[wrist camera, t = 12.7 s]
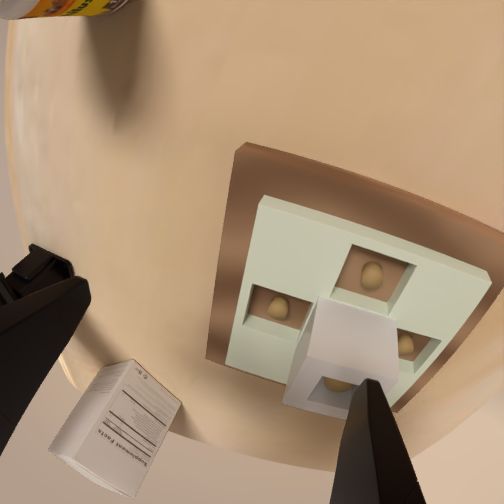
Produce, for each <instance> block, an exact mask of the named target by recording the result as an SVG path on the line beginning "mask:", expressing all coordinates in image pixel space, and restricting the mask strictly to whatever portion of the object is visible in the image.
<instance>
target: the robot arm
mask: <svg viewBox="0 0 504 504" xmlns="http://www.w3.org/2000/svg"><path fill="white" fill-rule="evenodd" d="M29 251H30V254H28V255H27V256H26V257H25V258H24V259H22V260H21V261H20V262H19V263H18V264H17V265H15V266H14V267H13V268H12V272H11V273H10V274H9V275H8V276H7V277H6V278H5V276H4V274H3V273H2V272H1V273H0V456H1V454H2V452H3V450H4V448H5V446H6V444H7V443H8V441H9V439H10V437H11V435H12V433H13V431H14V430H15V427H16V426H17V424H18V422H19V421H20V419H21V417H22V415H23V414H24V412H25V410H26V409H27V407H28V405H29V403H30V402H31V400H32V398H33V397H34V395H35V393H36V392H37V390H38V388H39V387H40V385H41V384H42V382H43V381H44V379H45V377H46V376H47V374H48V373H49V371H50V370H51V368H52V366H53V365H54V363H55V362H56V360H57V359H58V357H59V356H60V354H61V353H62V351H63V350H64V348H65V347H66V345H67V344H68V342H69V341H70V339H71V337H72V336H73V334H74V332H75V330H76V328H77V326H78V325H79V323H80V321H81V319H82V317H83V316H84V314H85V312H86V310H87V308H88V307H89V305H90V302H91V294H90V289H89V284H88V281H87V280H86V279H84V278H82V277H80V276H74V277H73V274H72V270H71V265H70V263H69V262H68V261H67V260H66V259H64V258H61V257H59V256H57V255H55V254H53V253H51V252H49V251H46V250H44V249H42V248H40V247H38V246H36V245H34V244H31V245H30V246H29ZM330 504H426V502H425V499H424V496H423V493H422V491H421V488H420V485H419V482H417V477H416V474H415V471H414V469H413V466H412V463H411V460H410V457H409V455H408V452H407V449H406V447H405V444H404V441H403V439H402V436H401V434H400V431H399V429H398V426H397V423H396V421H395V418H394V416H393V413H392V411H391V408H390V406H389V404H388V401H387V399H386V396H385V394H384V391H383V389H382V387H381V384H380V382H379V381H377V380H374V379H370V378H366V379H364V380H363V382H362V383H361V384H360V385H359V387H358V388H357V389H356V390H355V392H354V394H353V396H352V399H351V403H350V407H349V411H348V415H347V419H346V423H345V427H344V431H343V435H342V439H341V443H340V448H339V454H338V461H337V467H336V472H335V478H334V483H333V489H332V494H331V499H330Z"/></svg>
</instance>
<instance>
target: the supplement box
mask: <svg viewBox="0 0 504 504" xmlns="http://www.w3.org/2000/svg"><path fill="white" fill-rule="evenodd" d="M180 405H181V402H180V401H179V400H178V399H177V398H176V397H174V396H173V395H172V394H171V393H170V392H169V391H168V390H166V389H165V388H164V387H163V386H162V385H161V384H160V383H159V382H157V381H156V380H155V379H154V378H153V377H152V376H151V375H150V374H149V373H148V372H146V371H145V370H144V369H143V368H142V367H141V366H140V365H139V364H138V363H137V362H136V361H135V360H130V361H126V362H122V363H118V364H114V365H110V366H106V367H102V368H101V369H100V371H99V372H98V374H97V375H96V377H95V378H94V379H93V381H92V382H91V384H90V385H89V387H88V388H87V390H86V391H85V393H84V394H83V396H82V397H81V399H80V400H79V402H78V403H77V405H76V406H75V408H74V409H73V411H72V412H71V414H70V415H69V417H68V418H67V420H66V422H65V423H64V425H63V426H62V428H61V429H60V431H59V432H58V434H57V435H56V437H55V439H54V440H53V442H52V444H51V445H50V447H49V448H48V450H49V451H50V452H51V453H53V454H54V455H55V456H57V457H58V458H59V459H61V460H62V461H64V462H65V463H67V464H68V465H69V466H71V467H72V468H73V469H75V470H76V471H78V472H79V473H81V474H82V475H83V476H85V477H86V478H88V479H89V480H91V481H92V482H94V483H96V484H98V485H99V486H102V487H104V488H106V489H109V490H111V491H114V492H116V493H119V494H121V495H123V496H126V497H129V498H131V499H134V498H135V496H136V494H137V492H138V490H139V488H140V486H141V484H142V482H143V480H144V478H145V476H146V474H147V472H148V470H149V468H150V466H151V464H152V462H153V460H154V458H155V456H156V454H157V452H158V450H159V448H160V445H161V443H162V442H163V440H164V437H165V435H166V434H167V432H168V430H169V428H170V425H171V423H172V421H173V419H174V417H175V415H176V413H177V411H178V409H179V407H180Z"/></svg>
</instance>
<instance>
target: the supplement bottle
mask: <svg viewBox="0 0 504 504" xmlns="http://www.w3.org/2000/svg"><path fill="white" fill-rule="evenodd" d="M127 1H128V0H0V18H2V19H5V20H15V19H25V18H37V17H54V16H102V15H106V14H109V13H112V12H114V11H116V10H117V9H119V8H120V7H122V6H123V5H124V4H125V3H126V2H127Z"/></svg>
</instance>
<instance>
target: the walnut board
mask: <svg viewBox="0 0 504 504" xmlns="http://www.w3.org/2000/svg"><path fill="white" fill-rule="evenodd" d="M264 195H267V196H270V197H274V198H277V199H280V200H284V201H287V202H291V203H294V204H297V205H300V206H304V207H307V208H310V209H313V210H317V211H320V212H323V213H326V214H329V215H333V216H336V217H339V218H342V219H345V220H348V221H351V222H354V223H357V224H360V225H363V226H366V227H369V228H372V229H375V230H378V231H381V232H384V233H387V234H389V235H392V236H395V237H398V238H401V239H404V240H406V241H409V242H412V243H415V244H418V245H420V246H423V247H426V248H428V249H431V250H434V251H437V252H439V253H442V254H445V255H447V256H450V257H452V258H455V259H458V260H460V261H463V262H465V263H468V264H470V265H473V266H475V267H478V268H480V269H483V270H485V271H487V273H488V275H489V277H490V279H491V282H492V284H491V286H490V287H489V289H488V290H487V292H486V293H485V295H484V296H483V298H482V299H481V301H480V302H479V303H478V305H477V306H476V308H475V309H474V310H473V312H472V313H471V315H470V316H469V317H468V319H467V320H466V321H465V323H464V324H463V325H462V327H461V328H460V329H459V331H458V332H457V333H456V335H455V336H454V337H453V338H452V340H451V341H450V342H449V343H448V345H447V346H446V347H445V348H444V350H443V351H442V352H441V353H440V354H439V356H438V357H437V358H436V359H435V360H434V361H433V363H432V364H431V365H430V366H429V367H428V368H427V369H426V371H425V372H424V373H423V374H422V375H421V376H420V377H419V378H418V379H417V381H416V382H415V383H414V384H413V385H412V386H411V387H410V388H409V389H408V390H407V391H406V392H405V393H404V394H403V395H402V396H401V397H400V398H399V399H398V400H397V401H396V402H395V403H394V404H393V405H392V406H391V407H390V408H391V411H392V412H396V413H397V412H398V411H399V410H400V409H401V408H403V407H404V406H405V405H406V404H407V403H408V402H409V401H410V400H411V399H412V398H413V397H414V396H415V395H416V394H417V393H418V392H419V391H420V390H421V389H422V388H423V387H424V386H425V385H426V384H427V383H428V381H429V380H430V379H431V378H432V377H433V376H434V375H435V374H436V373H437V372H438V371H439V370H440V368H441V367H442V366H443V365H444V364H445V363H446V362H447V361H448V359H449V358H450V357H451V356H452V355H453V354H454V352H455V351H456V350H457V349H458V348H459V346H460V345H461V344H462V343H463V342H464V340H465V339H466V338H467V337H468V335H469V334H470V333H471V332H472V330H473V329H474V328H475V326H476V325H477V324H478V322H479V321H480V320H481V318H482V317H483V316H484V314H485V313H486V312H487V310H488V309H489V308H490V306H491V305H492V303H493V302H494V300H495V299H496V298H497V296H498V295H499V293H500V292H501V290H502V289H503V287H504V233H502V232H500V231H498V230H496V229H494V228H492V227H490V226H488V225H486V224H483V223H481V222H479V221H477V220H475V219H472V218H470V217H468V216H466V215H463V214H461V213H459V212H457V211H454V210H452V209H449V208H447V207H445V206H442V205H440V204H437V203H435V202H433V201H430V200H428V199H425V198H422V197H420V196H417V195H415V194H412V193H410V192H407V191H404V190H402V189H399V188H396V187H393V186H391V185H388V184H385V183H382V182H380V181H377V180H374V179H371V178H368V177H365V176H362V175H359V174H356V173H353V172H350V171H347V170H344V169H341V168H338V167H334V166H331V165H328V164H325V163H321V162H318V161H315V160H311V159H308V158H305V157H301V156H298V155H294V154H290V153H287V152H283V151H279V150H276V149H272V148H268V147H264V146H260V145H256V144H252V143H248V142H246V143H245V144H243V145H242V146H241V147H240V148H238V149H237V150H236V151H235V156H234V162H233V168H232V174H231V180H230V187H229V193H228V199H227V206H226V212H225V219H224V225H223V232H222V238H221V245H220V252H219V259H218V266H217V273H216V280H215V288H214V295H213V303H212V310H211V318H210V326H209V333H208V341H207V350H206V358H205V359H208V360H210V361H213V362H216V363H219V364H221V365H224V366H227V367H230V368H233V369H236V370H239V371H241V372H244V373H247V374H250V375H254V376H257V377H260V378H263V379H266V380H269V381H272V382H276V383H279V384H282V385H286V384H284V383H280V382H277V381H274V380H271V379H267V378H264V377H261V376H258V375H255V374H252V373H249V372H246V371H243V370H240V369H237V368H234V367H231V366H228V365H226V364H225V361H226V357H227V352H228V347H229V342H230V337H231V333H232V328H233V323H234V318H235V314H236V309H237V304H238V299H239V294H240V290H241V285H242V280H243V275H244V271H245V266H246V261H247V256H248V252H249V247H250V242H251V238H252V233H253V228H254V223H255V219H256V214H257V209H258V204H259V202H260V201H261V199H262V198H263V196H264ZM408 264H409V263H408V262H405V261H402V260H399V259H396V258H393V257H390V256H387V255H384V254H382V253H379V252H376V251H373V250H370V249H366V248H363V247H360V246H357V245H354V244H352V245H351V248H350V250H349V253H348V255H347V257H346V260H345V262H344V265H343V267H342V269H341V272H340V274H339V276H338V279H337V281H336V283H335V287H338V288H342V289H345V290H348V291H351V292H354V293H358V294H361V295H364V296H367V297H371V298H374V299H377V300H380V301H383V302H388V300H389V299H390V297H391V295H392V294H393V292H394V290H395V288H396V286H397V285H398V283H399V281H400V279H401V277H402V275H403V274H404V272H405V270H406V268H407V266H408ZM310 305H311V302H309V301H306V300H303V299H300V298H297V297H293V296H290V295H287V294H284V293H281V292H278V291H274V290H271V289H268V288H265V287H262V286H259V285H256V284H254V288H253V292H252V296H251V300H250V304H249V308H248V312H247V314H250V315H253V316H257V317H260V318H263V319H266V320H269V321H272V322H275V323H278V324H281V325H285V326H288V327H291V328H294V329H297V330H300V328H301V326H302V324H303V321H304V319H305V317H306V314H307V312H308V309H309V307H310ZM397 339H398V358H400V359H404V360H408V361H412V362H413V361H414V360H415V359H416V358H417V356H418V355H419V354H420V353H421V351H422V350H423V349H424V348H425V346H426V345H427V344H428V342H429V341H430V340H431V339H432V338H431V337H428V336H424V335H421V334H417V333H414V332H410V331H407V330H403V329H400V328H397ZM324 385H325V387H326V388H327V389H329V390H331V391H334V392H345V391H348V390H350V389H351V388H352V386H353V384H351V383H347V382H343V381H339V380H336V379H332V378H328V377H325V382H324Z"/></svg>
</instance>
